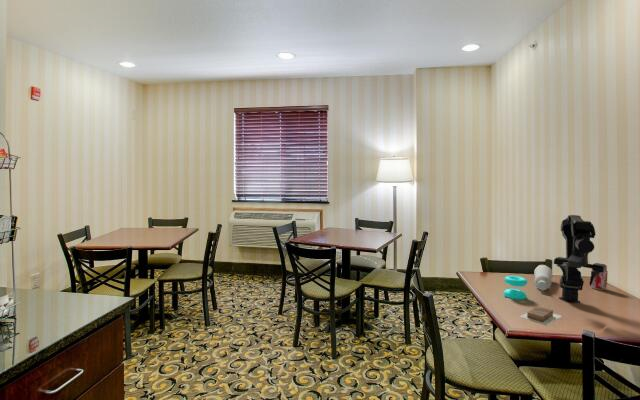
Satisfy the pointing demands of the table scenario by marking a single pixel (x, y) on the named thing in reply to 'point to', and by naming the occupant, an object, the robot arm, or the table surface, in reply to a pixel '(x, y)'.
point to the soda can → (600, 281)
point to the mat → (544, 321)
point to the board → (540, 314)
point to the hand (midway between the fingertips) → (578, 283)
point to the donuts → (516, 282)
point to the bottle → (543, 277)
